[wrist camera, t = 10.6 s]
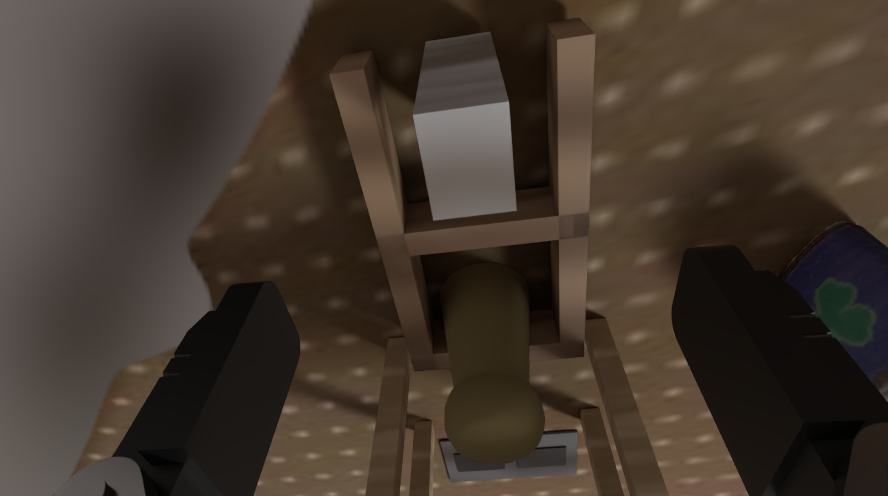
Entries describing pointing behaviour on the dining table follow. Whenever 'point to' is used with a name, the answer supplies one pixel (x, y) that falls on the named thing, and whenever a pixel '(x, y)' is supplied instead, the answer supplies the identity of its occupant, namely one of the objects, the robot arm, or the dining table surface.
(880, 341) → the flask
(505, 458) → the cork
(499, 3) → the dining table surface
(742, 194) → the dining table surface
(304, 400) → the dining table surface
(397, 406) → the wooden stool
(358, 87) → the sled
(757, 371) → the robot arm
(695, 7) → the dining table surface
